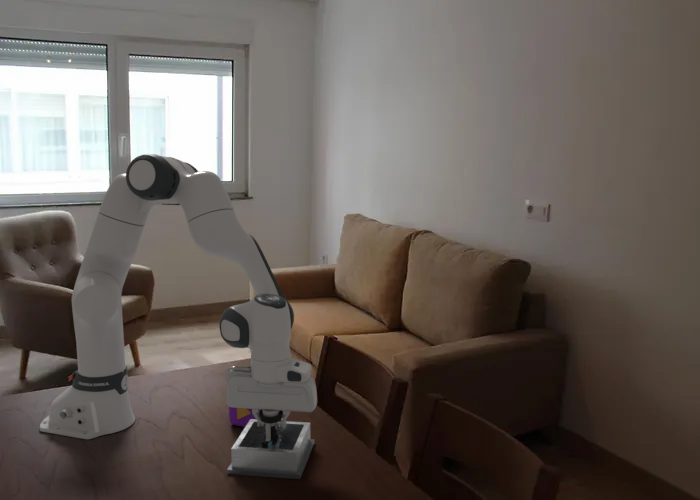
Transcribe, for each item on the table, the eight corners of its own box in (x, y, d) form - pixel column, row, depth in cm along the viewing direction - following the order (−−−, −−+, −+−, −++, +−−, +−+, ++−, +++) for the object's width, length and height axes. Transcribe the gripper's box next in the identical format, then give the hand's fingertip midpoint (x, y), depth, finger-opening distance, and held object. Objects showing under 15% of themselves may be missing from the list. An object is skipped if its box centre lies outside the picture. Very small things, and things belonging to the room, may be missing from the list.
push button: (269, 439, 161) (268, 399, 159) (290, 443, 159) (289, 403, 157) (255, 452, 155) (254, 411, 152) (276, 457, 153) (275, 415, 151)
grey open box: (227, 474, 149) (226, 450, 148) (248, 439, 166) (248, 417, 165) (300, 479, 147) (299, 455, 146) (314, 443, 164) (314, 421, 163)
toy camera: (278, 434, 169) (277, 395, 167) (225, 429, 171) (224, 391, 170) (290, 416, 179) (290, 379, 177) (240, 411, 182) (239, 375, 180)
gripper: (221, 370, 151) (222, 429, 154) (313, 375, 149) (313, 435, 151) (229, 360, 157) (231, 417, 160) (318, 365, 155) (318, 423, 157)
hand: (271, 426), depth 155 cm, fingers closed on push button, 3 cm apart
